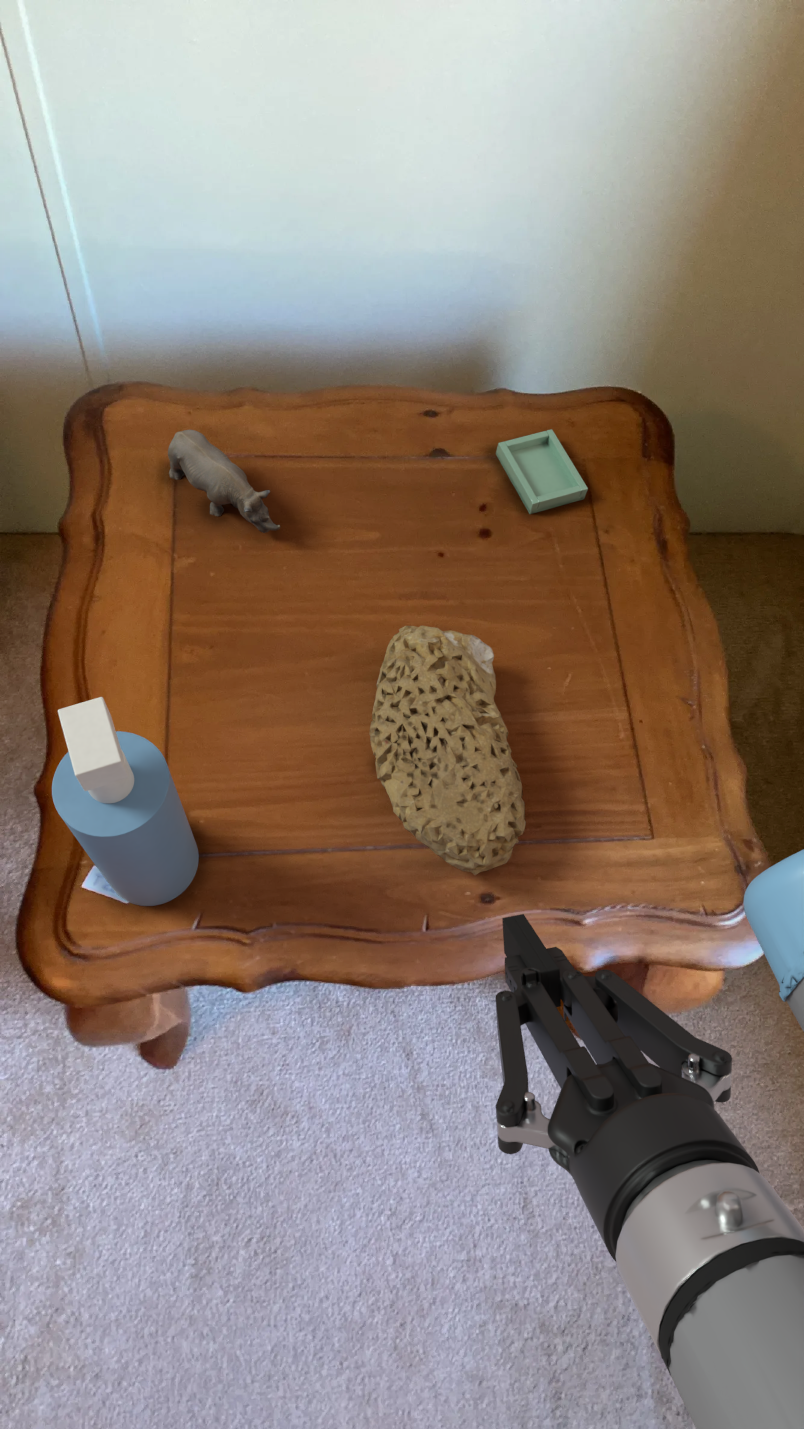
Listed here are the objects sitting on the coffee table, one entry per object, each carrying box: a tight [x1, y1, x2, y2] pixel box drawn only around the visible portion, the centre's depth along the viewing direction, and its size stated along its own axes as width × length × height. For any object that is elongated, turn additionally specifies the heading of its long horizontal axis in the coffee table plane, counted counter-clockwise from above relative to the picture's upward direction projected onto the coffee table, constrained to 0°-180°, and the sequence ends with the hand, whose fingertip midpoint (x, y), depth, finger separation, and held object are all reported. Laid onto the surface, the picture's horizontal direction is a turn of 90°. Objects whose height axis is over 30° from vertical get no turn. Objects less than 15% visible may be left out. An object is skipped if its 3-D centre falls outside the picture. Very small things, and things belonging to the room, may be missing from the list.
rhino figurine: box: [167, 429, 281, 534], centre depth 84 cm, size 4×14×6 cm, turn 48°
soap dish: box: [495, 428, 589, 515], centre depth 90 cm, size 8×6×2 cm
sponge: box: [369, 625, 527, 876], centre depth 73 cm, size 13×8×20 cm
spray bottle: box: [51, 696, 200, 907], centre depth 61 cm, size 7×7×21 cm
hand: (513, 933), depth 62 cm, fingers closed
